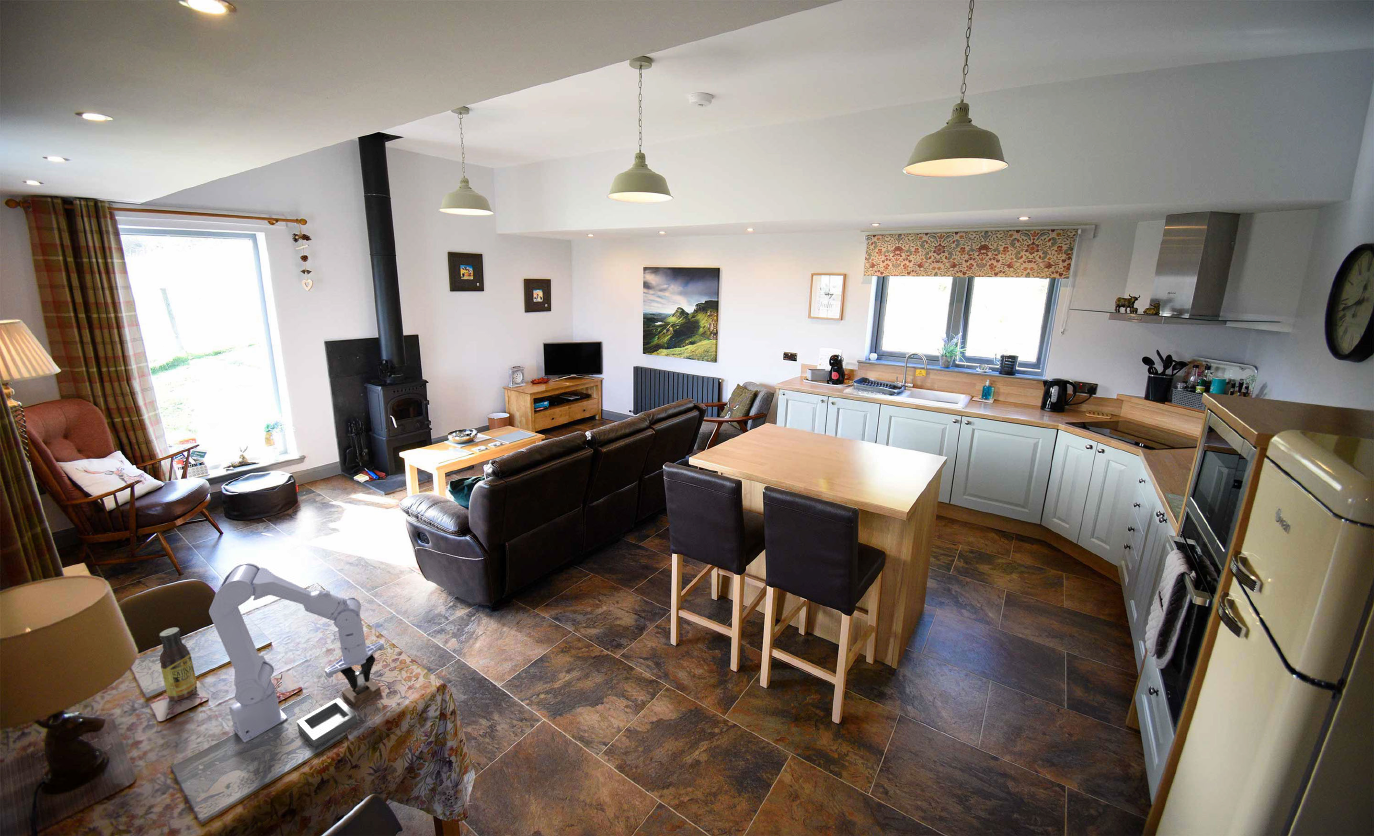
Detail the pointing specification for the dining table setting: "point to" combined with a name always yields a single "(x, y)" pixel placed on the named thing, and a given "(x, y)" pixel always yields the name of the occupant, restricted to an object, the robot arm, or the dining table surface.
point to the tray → (327, 723)
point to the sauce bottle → (176, 666)
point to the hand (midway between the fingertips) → (359, 683)
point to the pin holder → (363, 697)
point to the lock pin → (360, 682)
